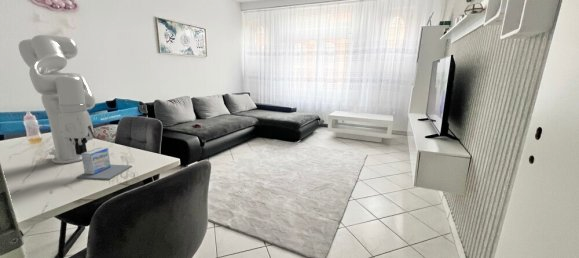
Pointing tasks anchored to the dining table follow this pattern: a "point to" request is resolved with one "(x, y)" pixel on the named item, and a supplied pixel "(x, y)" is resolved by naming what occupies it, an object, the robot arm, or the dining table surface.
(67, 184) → the dining table surface
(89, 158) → the medicine box
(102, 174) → the mat
